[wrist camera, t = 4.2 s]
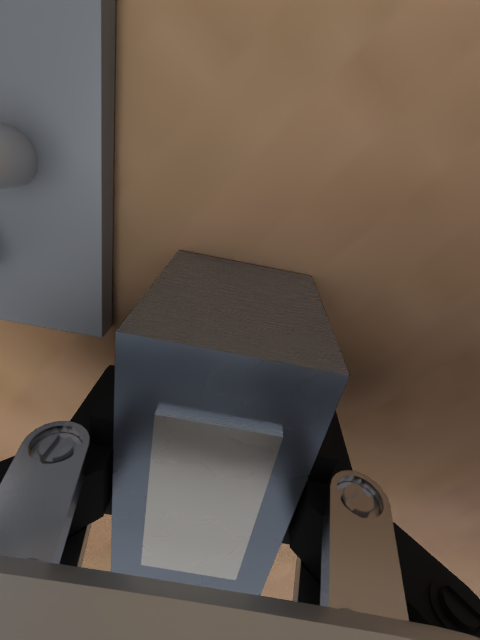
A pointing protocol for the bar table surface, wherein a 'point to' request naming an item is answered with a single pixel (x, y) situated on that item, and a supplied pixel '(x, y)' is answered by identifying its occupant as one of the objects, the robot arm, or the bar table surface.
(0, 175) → the caddy
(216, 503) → the block
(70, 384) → the bar table surface
